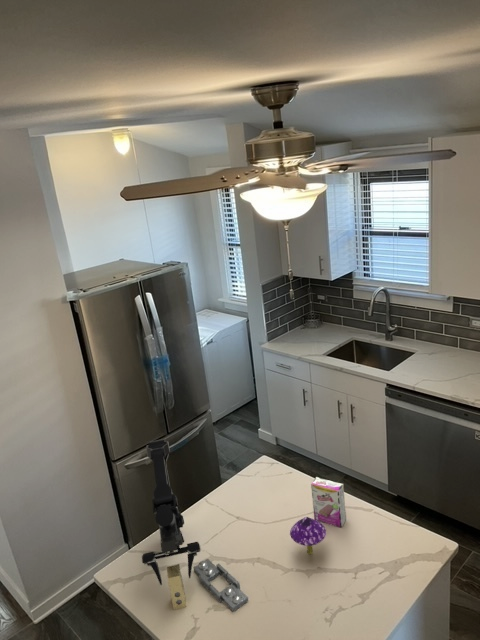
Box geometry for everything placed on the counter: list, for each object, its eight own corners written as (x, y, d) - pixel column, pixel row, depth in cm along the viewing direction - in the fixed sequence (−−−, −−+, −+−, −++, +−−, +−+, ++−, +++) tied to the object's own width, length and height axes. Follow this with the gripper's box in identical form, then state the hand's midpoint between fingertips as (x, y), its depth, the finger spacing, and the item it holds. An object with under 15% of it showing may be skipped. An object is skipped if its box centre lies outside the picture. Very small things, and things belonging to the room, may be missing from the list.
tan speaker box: (173, 597, 171) (166, 566, 167) (185, 594, 171) (179, 563, 168) (174, 610, 166) (167, 578, 162) (186, 607, 166) (180, 575, 163)
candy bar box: (313, 520, 197) (310, 483, 193) (319, 512, 201) (315, 476, 196) (341, 528, 191) (338, 490, 186) (346, 520, 195) (343, 483, 190)
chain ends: (191, 572, 180) (190, 566, 179) (210, 560, 184) (209, 554, 184) (230, 613, 162) (229, 607, 161) (251, 599, 166) (250, 592, 165)
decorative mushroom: (311, 535, 190) (307, 500, 185) (335, 553, 180) (332, 517, 175) (285, 552, 183) (280, 517, 179) (309, 572, 173) (305, 535, 169)
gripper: (136, 533, 166) (143, 587, 158) (194, 521, 168) (203, 573, 161) (141, 538, 175) (147, 589, 168) (196, 525, 178) (204, 575, 170)
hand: (175, 581), depth 166 cm, fingers open, 9 cm apart
